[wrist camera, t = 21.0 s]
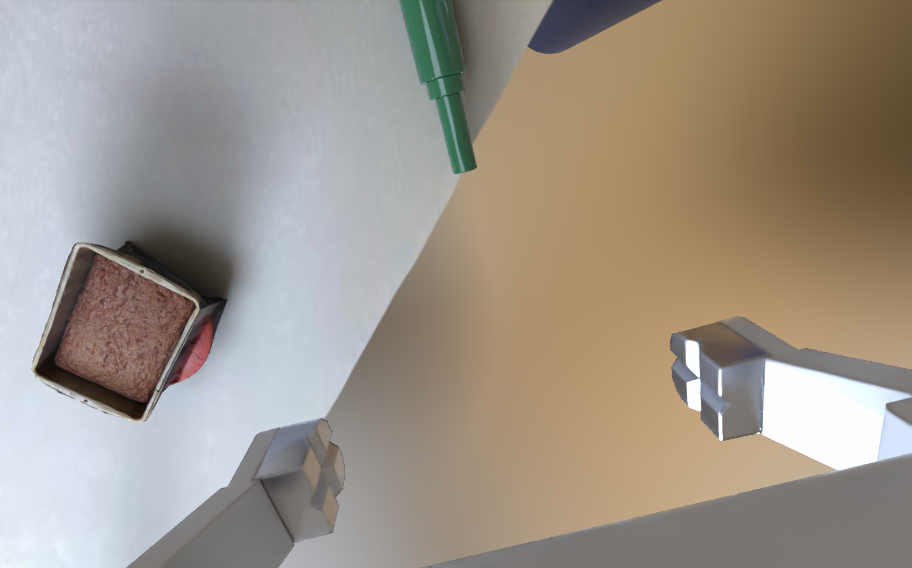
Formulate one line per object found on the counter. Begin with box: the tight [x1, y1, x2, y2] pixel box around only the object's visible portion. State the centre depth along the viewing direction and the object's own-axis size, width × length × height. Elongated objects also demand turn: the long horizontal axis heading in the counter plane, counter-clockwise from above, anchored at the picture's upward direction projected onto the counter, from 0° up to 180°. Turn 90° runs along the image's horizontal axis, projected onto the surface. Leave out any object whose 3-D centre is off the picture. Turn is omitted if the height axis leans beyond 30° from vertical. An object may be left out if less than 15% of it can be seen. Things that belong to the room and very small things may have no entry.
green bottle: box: [399, 0, 477, 174], centre depth 39 cm, size 18×4×4 cm
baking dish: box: [31, 241, 227, 423], centre depth 44 cm, size 14×18×10 cm
